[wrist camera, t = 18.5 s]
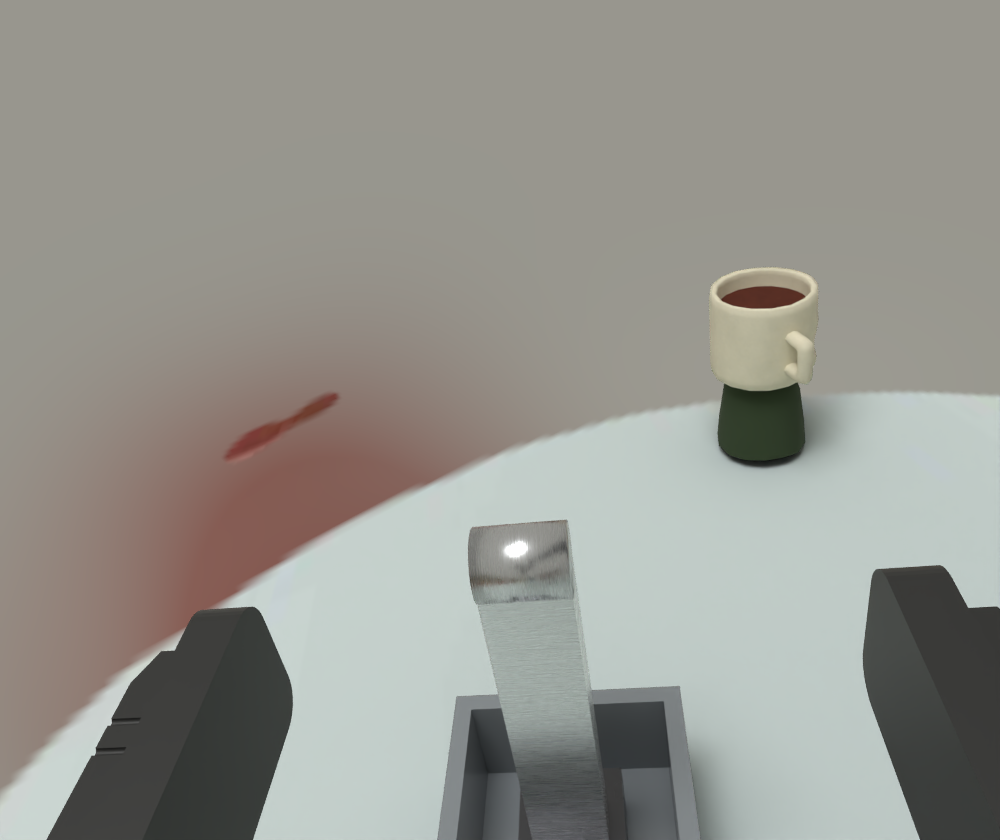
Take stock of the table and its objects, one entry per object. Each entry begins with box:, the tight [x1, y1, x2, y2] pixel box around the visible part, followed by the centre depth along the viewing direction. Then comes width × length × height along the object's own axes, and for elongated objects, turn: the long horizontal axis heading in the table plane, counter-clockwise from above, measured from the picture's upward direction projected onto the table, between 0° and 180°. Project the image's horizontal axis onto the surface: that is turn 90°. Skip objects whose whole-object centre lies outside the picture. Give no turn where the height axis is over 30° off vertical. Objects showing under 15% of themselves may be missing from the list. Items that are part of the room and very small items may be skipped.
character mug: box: [709, 267, 818, 461], centre depth 60 cm, size 11×7×13 cm, turn 17°
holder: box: [437, 686, 701, 840], centre depth 37 cm, size 11×11×6 cm
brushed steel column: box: [468, 520, 628, 840], centre depth 33 cm, size 5×5×20 cm
